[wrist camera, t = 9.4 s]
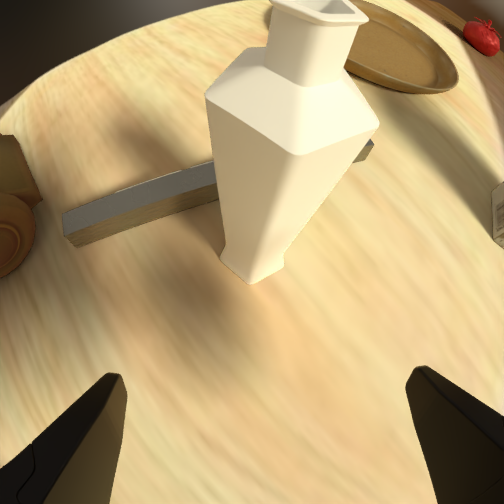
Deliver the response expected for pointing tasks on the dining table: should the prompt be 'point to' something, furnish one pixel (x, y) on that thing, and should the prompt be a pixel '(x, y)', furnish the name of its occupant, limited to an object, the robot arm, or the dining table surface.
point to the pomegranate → (482, 37)
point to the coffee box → (498, 214)
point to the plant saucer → (398, 54)
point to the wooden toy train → (15, 205)
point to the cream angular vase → (285, 130)
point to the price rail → (148, 202)
